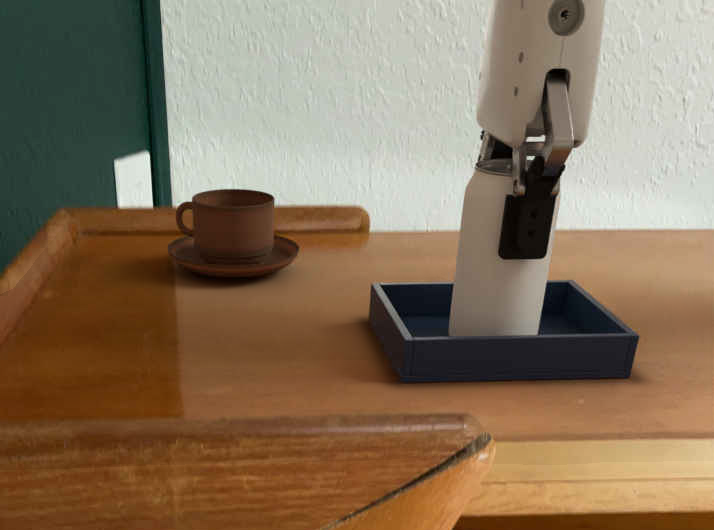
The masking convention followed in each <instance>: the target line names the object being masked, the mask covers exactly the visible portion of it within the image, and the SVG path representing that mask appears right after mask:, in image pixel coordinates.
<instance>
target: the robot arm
mask: <svg viewBox="0 0 714 530" xmlns="http://www.w3.org/2000/svg"><path fill="white" fill-rule="evenodd" d="M605 6H606V0H490V3H489V9H488V14H487V22H486V26H485V34H484V38H483V47H482V52H481V53H482V54H481V60H480V67H479V75H478V76H479V77H478V85H477V94H476V107H475V118H476V122H477V125H478V126H479V127H480V128H481V129H482V130H481V131H480V133H481V134H480V137H479V139H480V141H481V143H480V144H481V145H480V148H479V152H478V156H477V161H476V163H477V162H479V161H483V160H490V159H513V179H512V193H513V194H506V199H505V206H504V213H503V220H502V227H501V234H500V241H499V248H498V255H499V256H500V257H501V258H502V259H504V260H520V259H543V258H544V257H545V256H546V254H547V249H548V243H549V237H550V231H551V226H552V220H553V214H554V208H555V202H556V197H557V196H558V194H559V190H560V191H561V177H562V175H563V172H565V170H566V162H567V160H568V158H569V156H570V155H571V153H572V151H573V149H577V148H579V147H581V146H582V145H583V144H584V143H585V141H586V140H587V138H588V135H589V130H590V123H591V118H592V111H593V103H594V97H595V89H596V84H597V83H596V82H597V77H598V68H599V60H600V52H601V46H602V39H603V38H602V37H603V29H604V19H605V11H606V9H605V8H606V7H605ZM542 136H544V141H540V140H539V141H527V140H528V138H542ZM528 157H533V159H532V160H533V161H532V162H531V165H530V167H529V168H528V170H527V160H528Z"/></svg>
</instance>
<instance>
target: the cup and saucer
mask: <svg viewBox="0 0 714 530" xmlns="http://www.w3.org/2000/svg"><path fill="white" fill-rule="evenodd" d="M275 201H276V199H275V197H274V195H273V194H271V193H268V192H265V191H261V190H255V189H247V188H246V189H243V188H222V189H211V190H206V191H201V192H198V193H196V194H194V195H193V196H192V197H191V201H188V200H187V201H184V202H181V203H180V204H179V206H177V208H176V211H175V222H176V225H177V227H178V230H179V231H180V232H182V234H183V235H185V236H182V237H179V238H177V239H175V240H173V241H171V242H170V243H169V244H168V246H167V252H168V255H169V257H170V258H171V260H173V262H174V263H175V264H177V265H178V266H180V267H181V268H183V269H185V270H187V271H190V272H193V273H196V274H201V275H204V276H205V275H206V276H211V277H220V278H248V277H256V276H262V275H267V274H271V273H275V272H277V271H280V270H282V269H285V268H287V267H288V266H289V265H291V264H292V263H293V262H294V261H295V260H296V259H297V258H298V256H299V253H300V246H299V244H298V243H297V242H295V241H294V240H293V239H290V238H287V237H285V236H283V235H282V236H281V235H277V234H275V233H274V232H275V228H274V227H275ZM187 210H191V212H192V228H189V227H187V225H185V223H184V220H183V215H184V212H185V211H187Z"/></svg>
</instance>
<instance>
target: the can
mask: <svg viewBox="0 0 714 530" xmlns="http://www.w3.org/2000/svg"><path fill="white" fill-rule="evenodd" d="M532 161H533V159H527V170H528V168H529V167H530V165H531V162H532ZM473 168H474V172H473V174H472V175H471V178H470V179H469V181H468V183H466V184H467V185H466V187H465V190H464V195H463V202H462V211H461V218H460V226H459V236H458V244H457V250H456V251H457V252H456V253H457V254H456V260H455V261H456V262H455V267H454V269H455V270H454V277H453V282H454V286H453V295H452V303H451V312H450V322H449V335H450V337H459V336H510V335H537V334H538V328H539V323H540V317H541V311H542V306H543V300H544V294H545V288H546V282H547V280H548V276H549V270H550V263H551V258H552V252H553V247H554V241H555V235H556V228H557V222H558V217H559V211H560V204H561V203H560V202H561V197H562V193H561V189H560V190H559V194H558V196H557V197H556V202H555V208H554V214H553V220H552V226H551V231H550V237H549V243H548V249H547V254H546V256H545V257H544V258H543V259H520V260H504V259H502V258H501V257H500V256H499V255H498V248H499V241H500V234H501V227H502V220H503V213H504V206H505V199H506V194H513V193H512V179H513V159H490V160H483V161H479V162H477V161H476V162H475V163H474V164H473Z"/></svg>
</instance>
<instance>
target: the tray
mask: <svg viewBox="0 0 714 530" xmlns="http://www.w3.org/2000/svg"><path fill="white" fill-rule="evenodd" d="M453 286H454V281H418V282H417V281H415V282H413V281H412V282H410V281H409V282H408V281H407V282H371V283H370V295H369V310H368V322H369V325H370V326H371V328H372V330H373V333H375V335H376V337H377V340H378V341H379V343H380V345H381V347H382V349H383V351H384V353H385V355H386V356H387V359H388V360H389V362H390V365H391V366H392V368H393V370H394V371H395V373H396V375H397V377H398V379H399V381H400V382H401V383H402V384H405V383H407V384H408V383H411V384H412V383H448V382H449V383H450V382H452V383H453V382H454V383H455V382H490V381H492V382H494V381H495V382H497V381H533V380H535V381H536V380H572V379H573V380H578V379H579V380H580V379H582V380H584V379H585V380H586V379H621V378H622V379H624V378H625V379H627V378H631V374H632V370H633V367H634V361H635V357H636V353H637V350H638V345H639V340H640V334H638V332H636V331H635V330H634V329H632V328H631V327H630V326H628V324H627V323H625V322H624V321H623V320H622V319H621V318H619V317H618V316H617V315H615V314H614V313H613V311H611V310H609V308H608V307H606V306H605V305H604V304H602V303H601V302H600V301H598V300H597V298H595V297H594V296H593V295H591V293H590V292H588V291H587V290H585V288H583V287H582V286H581V285H579V283H577V282H576V281H575V280H574V279H547V282H546V288H545V294H544V300H543V306H542V311H541V317H540V323H539V328H538V334H537V335H510V336H459V337H450V335H449V322H450V312H451V303H452V295H453Z"/></svg>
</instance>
